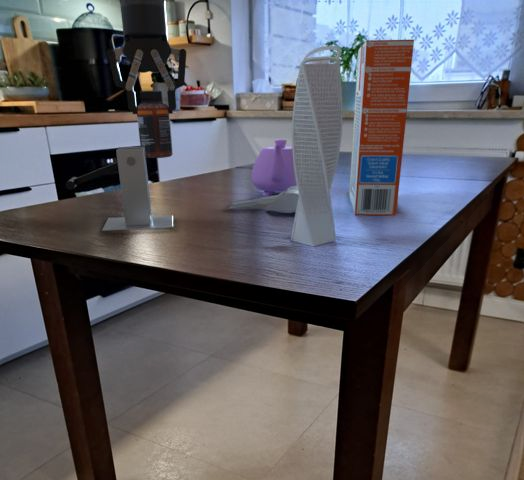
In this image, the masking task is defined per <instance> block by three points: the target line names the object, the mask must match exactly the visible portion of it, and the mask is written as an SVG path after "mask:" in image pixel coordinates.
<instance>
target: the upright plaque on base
mask: <svg viewBox="0 0 524 480" xmlns="http://www.w3.org/2000/svg"><path fill="white" fill-rule="evenodd" d="M115 151H116V160H117V161H116V162H118V169H117V170H118V175H119V177H118V178H119V184H120V192H121V200H122V207H123V216H121V217H108V218H107V220H106V221H105V223H104V225H103V228H102V229H101V232H119V231H120V232H122V231H141V230H143V231H144V230H162V229H163V230H164V229H165V230H166V229H174V215H173V214H171V215H170V214H169V215H153V214H152V206H151V205H152V204H151V195H150V187H149V185H150V184H149V175H148V167H147V158H146V156H145V147H141V146H118V149H116V150H115Z"/></svg>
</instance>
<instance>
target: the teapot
mask: <svg viewBox="0 0 524 480" xmlns="http://www.w3.org/2000/svg"><path fill="white" fill-rule="evenodd" d="M274 144H275V146H265V147H263V148H262V149H261V151H260V152H259V154H258V156H257V157H256V159H255V161H254V163H253V166H252V171H251V175H250V181H251V183H252V184H253V185H254V187H255V188H256V189H257V190H259V191H263V193H262V196H265V197H266V196H273V195H274V194H273V193H274V192H275V193H276V192H278V193H279V192H280V193H281V192H283V191H284V190H286V189H287V188H289V187H291V186H297V184H296V178H295V171H294V164H293V154H292V145H291V146H290V145H289V146H287V145H286V144H287V140H286V139H274Z"/></svg>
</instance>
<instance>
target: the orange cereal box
mask: <svg viewBox="0 0 524 480" xmlns="http://www.w3.org/2000/svg"><path fill="white" fill-rule="evenodd" d="M414 47H415V39H412V38H411V39H375V40H374V39H371V40H365V42H364V43H363V44H362V45H361V46H360V47H359V49H358V50H357V51H358V52H357V63H356V79H355V80H356V81H355V97H354V110H353V111H354V113H353V128H352V144H351V145H352V147H351V158H350V159H351V161H350V174H349V176H350V177H349V193H348V194H349V200H350V204H351V207H352V211H353V214H354V216H380V217H381V216H382V217H383V216H384V217H385V216H386V217H387V216H388V217H390V216H391V217H393V216H394V217H397V212H398V211H397V210H398V200H399V192H400V191H399V190H400V181H401V171H402V170H401V169H402V162H403V161H402V160H403V151H404V142H405V134H406V133H405V132H406V125H407V124H406V123H407V113H408V102H409V93H410V83H411V76H412V75H411V74H412V65H413V55H414Z"/></svg>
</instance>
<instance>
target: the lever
mask: <svg viewBox="0 0 524 480" xmlns="http://www.w3.org/2000/svg"><path fill="white" fill-rule="evenodd" d="M116 170H119V169H118V161H116V162H113V163H111V164H108V165H106V166H103V167H101V168H98V169H95V170H94V171H90V172H88V173H86V174H83V175H81V176H78V177H77V176H72V177H71V178H70V179H69V180H67V181H66V182H65V187H66V189H67V190H70V191H72V190H75V188H76V187H77V186H80V184H83V183H86V182H89V181H91V180H94V179H96V178H99V177H102V176H104V175H106V174H109V173H111V172H113V171H116Z"/></svg>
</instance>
